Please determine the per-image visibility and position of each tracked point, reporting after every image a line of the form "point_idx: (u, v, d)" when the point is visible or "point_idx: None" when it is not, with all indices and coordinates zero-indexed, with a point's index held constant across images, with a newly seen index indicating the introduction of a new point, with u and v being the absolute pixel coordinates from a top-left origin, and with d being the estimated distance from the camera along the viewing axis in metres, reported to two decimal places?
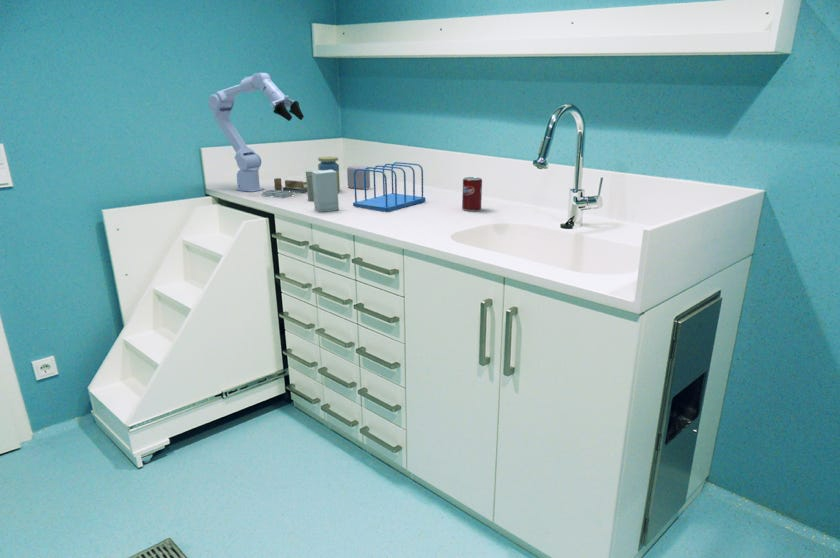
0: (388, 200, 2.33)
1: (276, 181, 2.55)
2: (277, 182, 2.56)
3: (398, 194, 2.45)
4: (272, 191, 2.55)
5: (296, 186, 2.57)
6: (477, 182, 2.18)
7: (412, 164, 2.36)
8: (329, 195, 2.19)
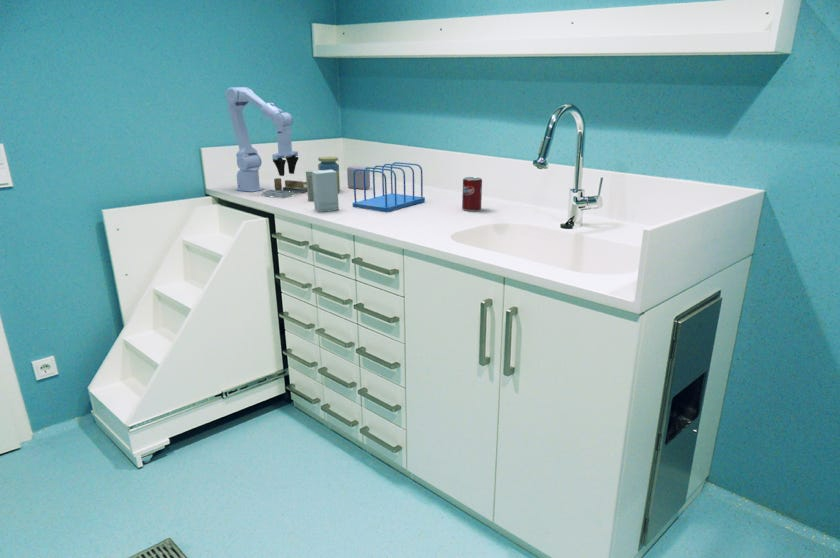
0: (387, 200, 2.32)
1: (276, 181, 2.55)
2: (277, 182, 2.56)
3: (397, 194, 2.45)
4: (272, 191, 2.55)
5: (296, 186, 2.57)
6: (477, 182, 2.18)
7: (411, 164, 2.36)
8: (329, 195, 2.19)
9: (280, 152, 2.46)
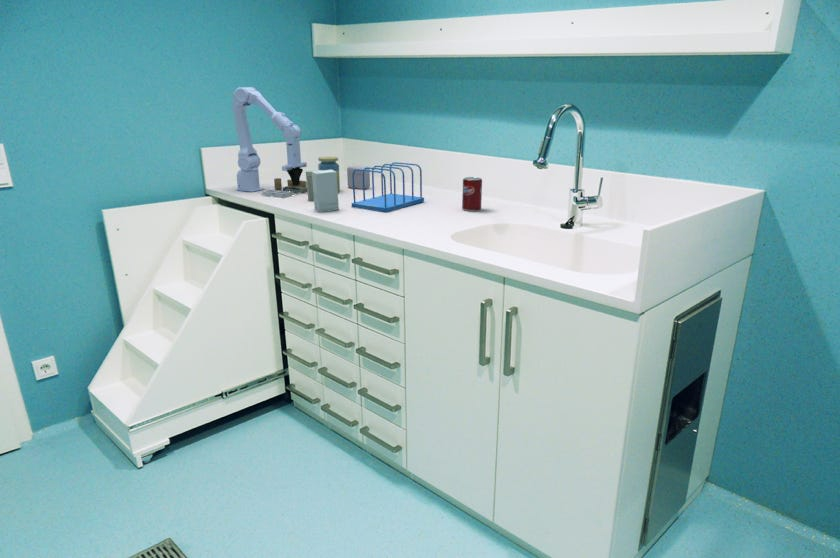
0: (387, 200, 2.32)
1: (276, 181, 2.55)
2: (277, 182, 2.56)
3: (396, 194, 2.44)
4: (272, 191, 2.55)
5: (298, 185, 2.59)
6: (477, 182, 2.18)
7: (411, 164, 2.36)
8: (329, 195, 2.19)
9: (289, 163, 2.53)
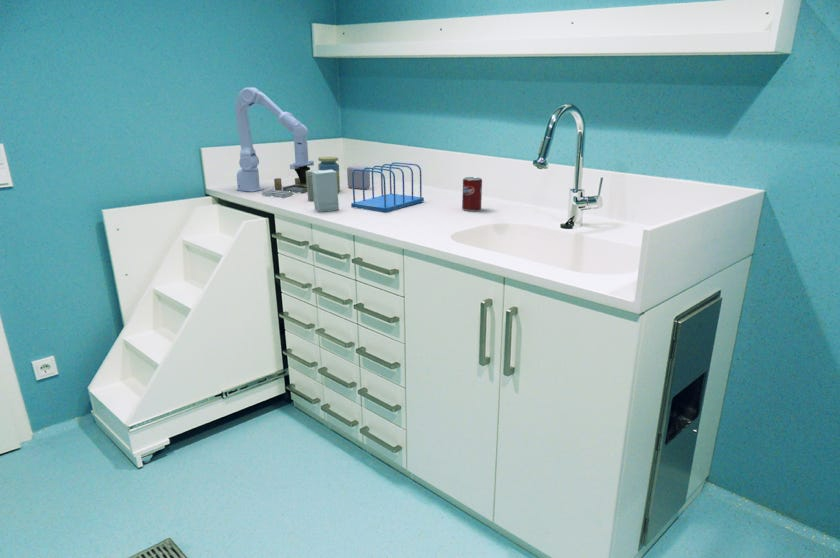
0: (386, 200, 2.32)
1: (276, 181, 2.55)
2: (277, 182, 2.56)
3: (396, 194, 2.44)
4: (272, 191, 2.55)
5: (306, 184, 2.63)
6: (477, 182, 2.18)
7: (410, 164, 2.36)
8: (329, 195, 2.19)
9: (297, 162, 2.57)
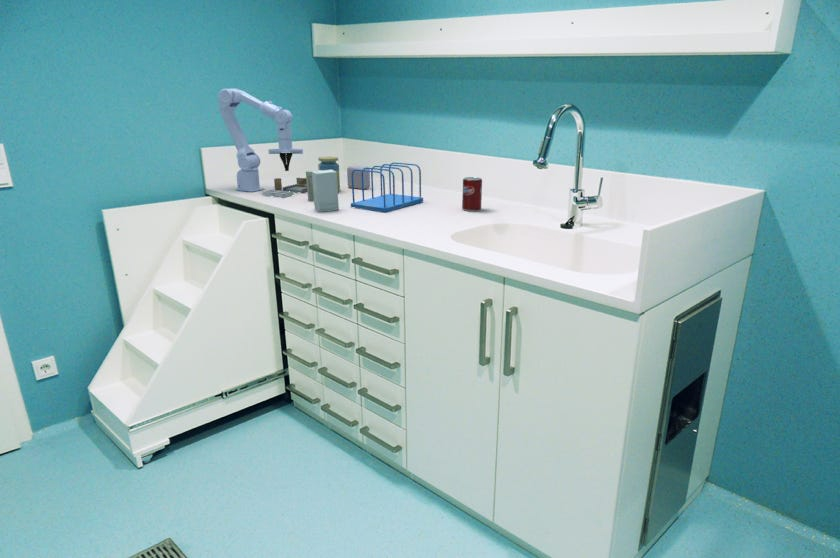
0: (386, 200, 2.32)
1: (276, 181, 2.55)
2: (277, 182, 2.56)
3: (396, 194, 2.44)
4: (272, 191, 2.55)
5: None
6: (477, 182, 2.18)
7: (410, 164, 2.35)
8: (329, 195, 2.19)
9: (279, 148, 2.54)
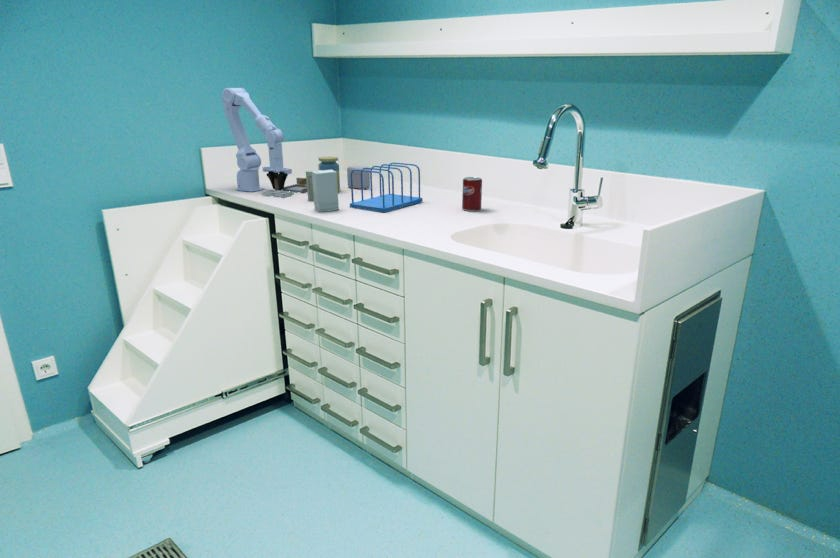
0: (385, 201, 2.31)
1: (276, 181, 2.55)
2: (277, 182, 2.56)
3: (395, 194, 2.44)
4: (272, 191, 2.55)
5: None
6: (477, 182, 2.18)
7: (409, 164, 2.35)
8: (329, 195, 2.19)
9: None
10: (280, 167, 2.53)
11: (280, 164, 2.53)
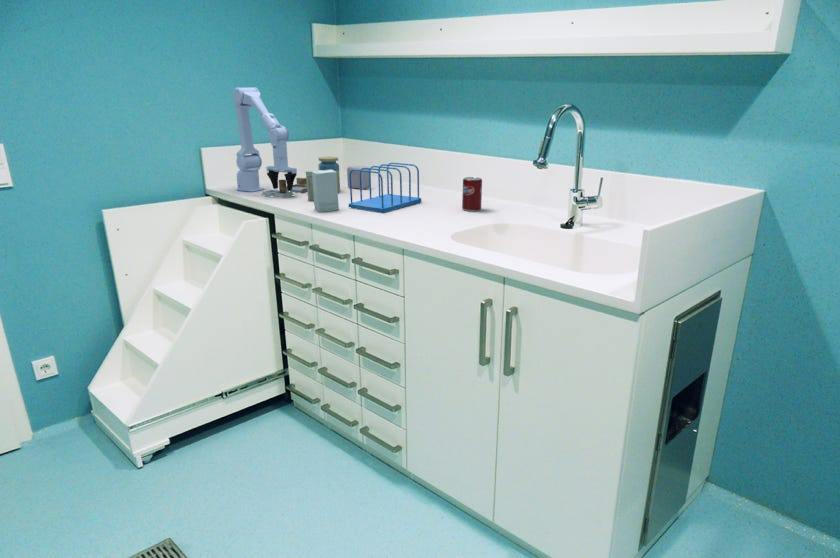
0: (384, 201, 2.31)
1: (281, 182, 2.47)
2: (282, 183, 2.47)
3: (394, 195, 2.43)
4: (272, 191, 2.55)
5: None
6: (477, 182, 2.18)
7: (408, 164, 2.35)
8: (329, 195, 2.19)
9: None
10: (285, 166, 2.44)
11: (285, 163, 2.44)
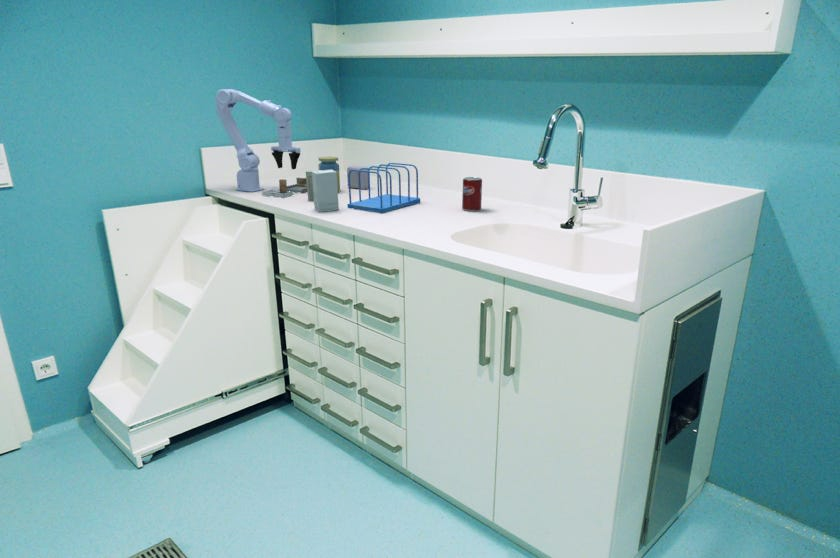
0: (383, 201, 2.31)
1: (281, 182, 2.47)
2: (282, 183, 2.47)
3: (393, 195, 2.43)
4: (272, 191, 2.55)
5: None
6: (477, 182, 2.18)
7: (407, 165, 2.34)
8: (329, 195, 2.19)
9: None
10: (289, 146, 2.54)
11: (289, 143, 2.54)
